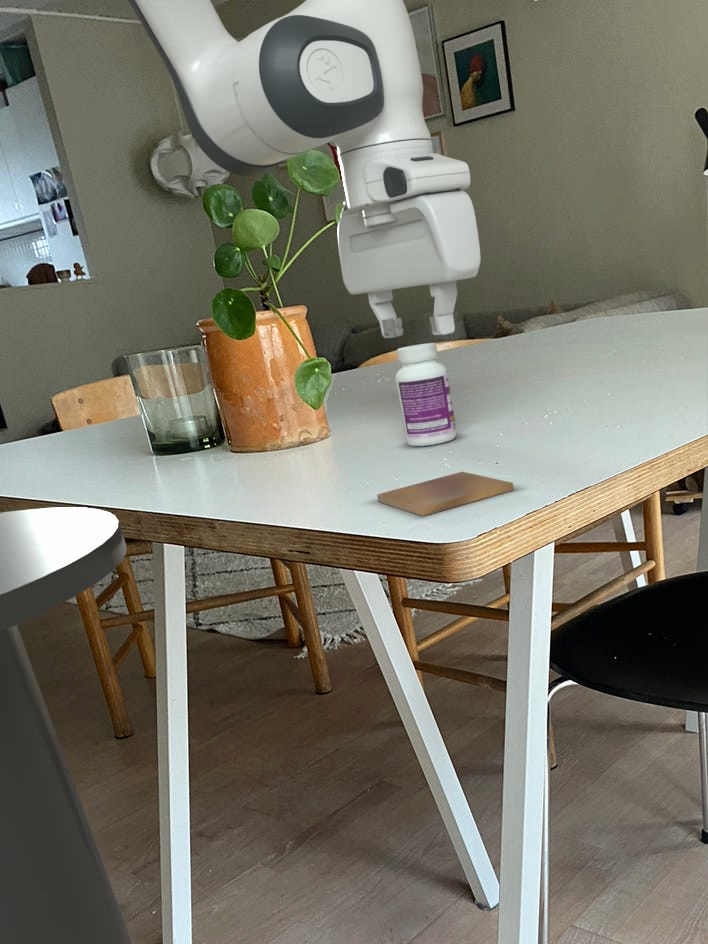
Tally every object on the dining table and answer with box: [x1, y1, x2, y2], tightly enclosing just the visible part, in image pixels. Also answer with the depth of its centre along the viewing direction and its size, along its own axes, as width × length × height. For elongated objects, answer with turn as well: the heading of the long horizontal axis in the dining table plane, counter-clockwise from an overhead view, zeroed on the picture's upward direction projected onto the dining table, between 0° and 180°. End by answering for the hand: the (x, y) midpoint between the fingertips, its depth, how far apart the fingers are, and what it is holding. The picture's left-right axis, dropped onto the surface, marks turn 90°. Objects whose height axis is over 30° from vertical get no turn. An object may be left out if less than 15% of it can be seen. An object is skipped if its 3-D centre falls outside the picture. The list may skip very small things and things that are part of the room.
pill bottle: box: [395, 342, 457, 447], centre depth 95 cm, size 5×5×10 cm
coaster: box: [376, 471, 514, 517], centre depth 73 cm, size 8×8×1 cm
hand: (417, 335), depth 93 cm, fingers open, 8 cm apart
